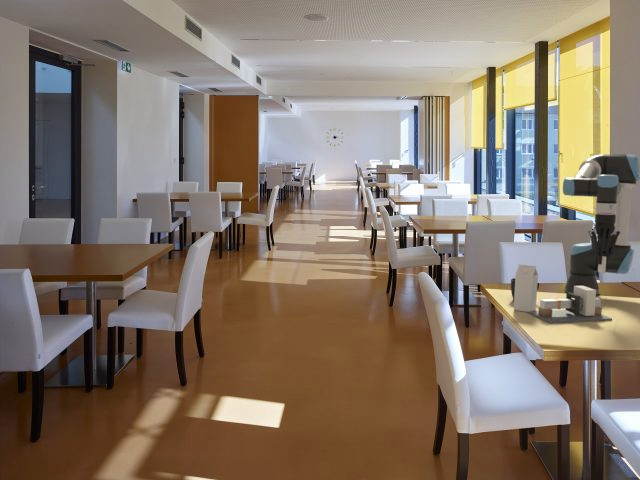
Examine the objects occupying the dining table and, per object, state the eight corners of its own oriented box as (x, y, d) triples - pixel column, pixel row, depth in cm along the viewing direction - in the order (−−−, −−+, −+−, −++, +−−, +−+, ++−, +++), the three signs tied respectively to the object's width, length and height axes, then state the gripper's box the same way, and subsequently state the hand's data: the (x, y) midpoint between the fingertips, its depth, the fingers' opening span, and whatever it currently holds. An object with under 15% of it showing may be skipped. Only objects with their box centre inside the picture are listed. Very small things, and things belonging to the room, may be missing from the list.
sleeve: (581, 310, 281) (582, 285, 280) (594, 315, 272) (596, 290, 271) (572, 310, 280) (574, 285, 279) (585, 315, 272) (587, 290, 270)
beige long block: (593, 312, 280) (594, 296, 279) (601, 315, 275) (602, 299, 275) (538, 314, 275) (539, 298, 274) (545, 317, 270) (546, 301, 269)
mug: (536, 304, 296) (537, 283, 295) (508, 301, 302) (509, 280, 300) (539, 301, 303) (541, 279, 302) (512, 298, 309) (513, 277, 307)
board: (587, 310, 286) (587, 309, 286) (612, 320, 270) (612, 318, 270) (528, 313, 280) (529, 311, 280) (550, 323, 265) (550, 321, 264)
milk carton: (519, 307, 291) (521, 263, 288) (535, 309, 287) (538, 264, 284) (513, 310, 285) (515, 265, 283) (530, 312, 281) (533, 267, 279)
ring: (568, 309, 279) (570, 292, 278) (579, 313, 272) (580, 296, 271) (565, 309, 278) (566, 292, 277) (575, 314, 272) (576, 296, 271)
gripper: (596, 214, 267) (592, 274, 270) (626, 214, 270) (621, 273, 273) (585, 212, 275) (581, 270, 278) (614, 212, 277) (609, 270, 281)
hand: (601, 272), depth 276 cm, fingers closed
